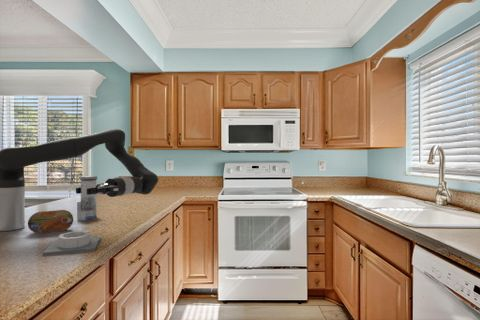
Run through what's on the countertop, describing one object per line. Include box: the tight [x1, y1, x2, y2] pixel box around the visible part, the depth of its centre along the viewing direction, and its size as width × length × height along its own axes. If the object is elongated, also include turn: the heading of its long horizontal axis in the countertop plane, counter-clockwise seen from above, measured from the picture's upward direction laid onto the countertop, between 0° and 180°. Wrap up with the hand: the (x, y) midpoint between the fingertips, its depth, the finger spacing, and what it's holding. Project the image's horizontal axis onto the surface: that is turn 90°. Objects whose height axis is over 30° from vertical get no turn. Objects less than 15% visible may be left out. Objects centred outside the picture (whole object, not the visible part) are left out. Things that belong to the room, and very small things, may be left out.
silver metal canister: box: [79, 175, 98, 211], centre depth 102 cm, size 5×5×12 cm
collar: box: [42, 230, 101, 257], centre depth 94 cm, size 14×14×4 cm
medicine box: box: [76, 200, 98, 221], centre depth 135 cm, size 8×4×9 cm, turn 168°
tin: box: [27, 209, 74, 234], centre depth 112 cm, size 15×3×8 cm, turn 118°
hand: (82, 191), depth 100 cm, fingers closed on silver metal canister, 5 cm apart
